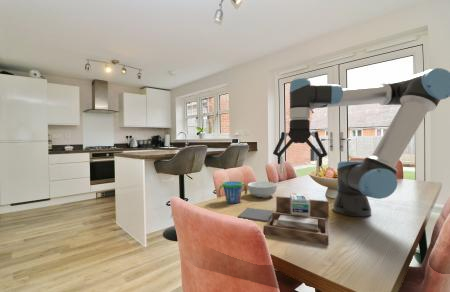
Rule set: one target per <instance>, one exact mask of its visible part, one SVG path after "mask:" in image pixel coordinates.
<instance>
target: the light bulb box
mask: <svg viewBox="0 0 450 292" xmlns="http://www.w3.org/2000/svg"><path fill="white" fill-rule="evenodd" d="M289 195H290V196H289V197H290V205H291V214H293V215H301V216H309V217H310V198H309V197H308V195H307V193H297V192H296V193H293V192H290V194H289Z"/></svg>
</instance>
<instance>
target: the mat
mask: <svg viewBox="0 0 450 292" xmlns="http://www.w3.org/2000/svg"><path fill="white" fill-rule="evenodd" d="M272 212H276V210H270V209H262V208H261V209H260V208H254V207H247V208H245V209H244V210H243V211H242V212H241V213H240V214H238V216H237V218H238V217H240V218H239V219H244V218H245V220H251V221H260V222H266V223H268V221H269V220H270V219H271V217H272Z"/></svg>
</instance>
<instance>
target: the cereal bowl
mask: <svg viewBox="0 0 450 292" xmlns="http://www.w3.org/2000/svg"><path fill="white" fill-rule="evenodd" d="M277 187H278V185H277V183H276V182H273V181H252V182H248V183H247V191H248V192H249V193H250V194H251V195H253V196H255V197H256V198H260V197H262V199H263V198H269V197H270V196H272V195H274V194H275V193H276V191H277V189H278V188H277Z"/></svg>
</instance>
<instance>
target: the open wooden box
mask: <svg viewBox="0 0 450 292" xmlns="http://www.w3.org/2000/svg"><path fill="white" fill-rule="evenodd" d="M309 199H310V198H309ZM329 201H330V200H323V199H321V200H320V199H310V217H309V216H301V215H293V214H291V205H290V196H289V197H287V196H280V195H279V196H278V195H277V196H276V201H275V203H276V205H275V206H276V209H275V212H272V216H271V218H270V219H269V221H268V222H266V224H263V235H265V236H267V235H268V236H273V237H280V238H286V239H289V240H290V239H292V240H298V241H302V242H303V241H305V242H309V243H315V244H321V245H326V244H327V245H329V243H330V242H329V241H330V240H329V239H330V238H329V236H330V234H329V221H330V220H329V219H330V218H329V211H330V210H329V209H330V207H329V204H330V202H329ZM280 215H286V216H294V217H302V218H311V219H318V229H320V232H321V233H317V232H310V231H303V230H296V229H290V228H283V227H276V226H273V222H274V220H278V219H279V217H280ZM327 245H326V246H327Z"/></svg>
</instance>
